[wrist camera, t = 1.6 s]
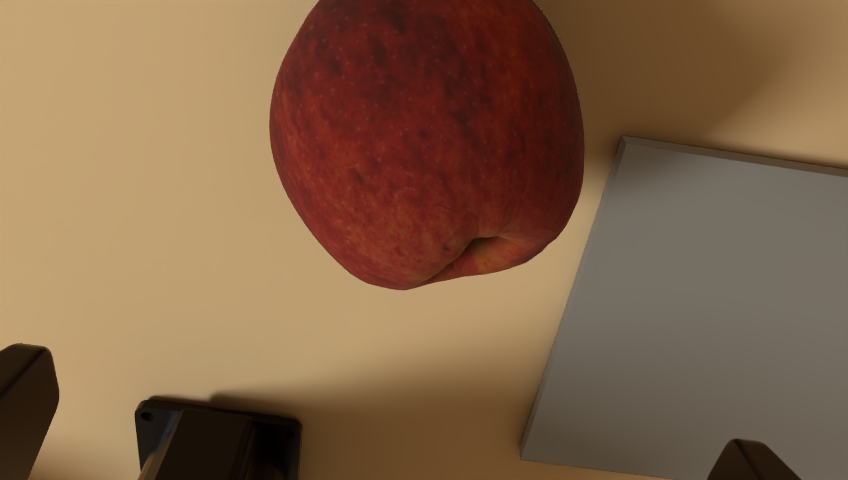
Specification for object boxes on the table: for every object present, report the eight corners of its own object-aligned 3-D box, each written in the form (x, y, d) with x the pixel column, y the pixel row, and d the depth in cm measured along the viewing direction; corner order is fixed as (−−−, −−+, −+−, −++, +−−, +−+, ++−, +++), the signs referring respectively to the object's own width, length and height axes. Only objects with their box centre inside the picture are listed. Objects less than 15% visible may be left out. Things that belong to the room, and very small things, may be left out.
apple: (343, 209, 23) (298, 388, 16) (258, -38, 19) (151, 67, 12) (574, 166, 22) (627, 339, 15) (537, -107, 18) (588, -34, 11)
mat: (850, 490, 30) (857, 502, 29) (519, 447, 29) (520, 460, 28) (1066, 202, 22) (1080, 213, 21) (622, 135, 21) (626, 144, 21)
